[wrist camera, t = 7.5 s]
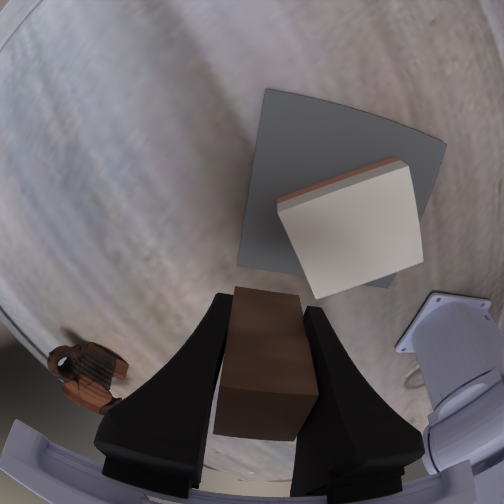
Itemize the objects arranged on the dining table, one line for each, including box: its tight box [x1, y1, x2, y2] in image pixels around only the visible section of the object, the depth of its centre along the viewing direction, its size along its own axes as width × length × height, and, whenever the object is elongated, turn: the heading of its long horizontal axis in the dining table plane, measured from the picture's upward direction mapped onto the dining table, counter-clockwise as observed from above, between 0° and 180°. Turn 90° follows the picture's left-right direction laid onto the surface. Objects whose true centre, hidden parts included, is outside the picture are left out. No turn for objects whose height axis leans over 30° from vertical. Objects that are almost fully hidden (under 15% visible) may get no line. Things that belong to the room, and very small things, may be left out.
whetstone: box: [277, 157, 423, 299], centre depth 17 cm, size 8×2×7 cm
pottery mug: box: [47, 342, 128, 415], centre depth 29 cm, size 12×10×8 cm
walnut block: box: [213, 286, 319, 441], centre depth 11 cm, size 3×3×6 cm
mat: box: [237, 89, 447, 288], centre depth 18 cm, size 12×12×1 cm
